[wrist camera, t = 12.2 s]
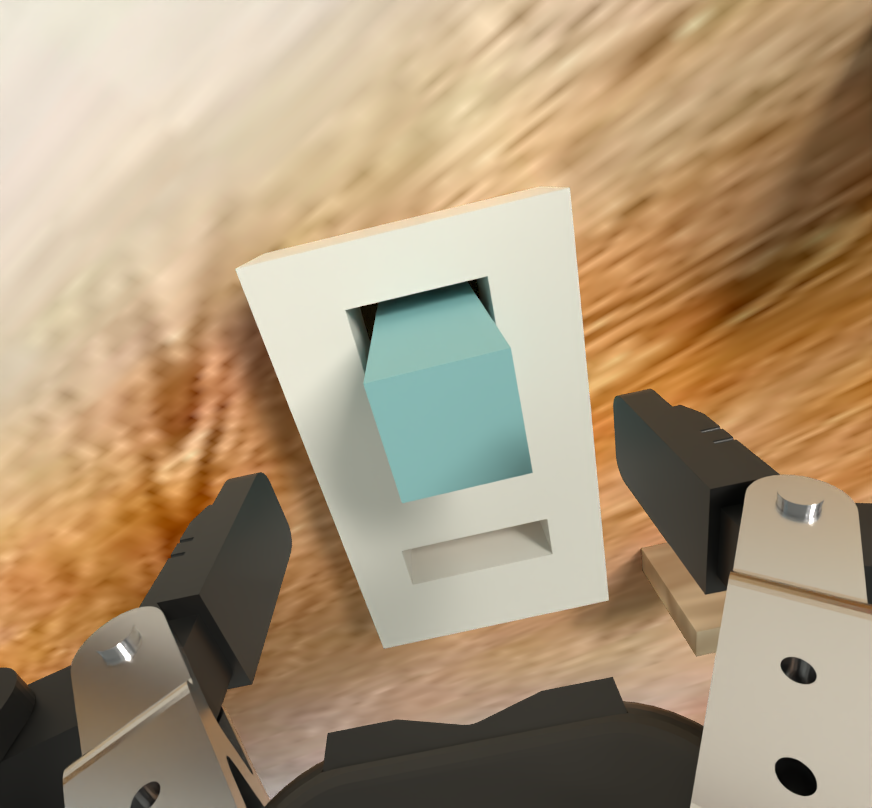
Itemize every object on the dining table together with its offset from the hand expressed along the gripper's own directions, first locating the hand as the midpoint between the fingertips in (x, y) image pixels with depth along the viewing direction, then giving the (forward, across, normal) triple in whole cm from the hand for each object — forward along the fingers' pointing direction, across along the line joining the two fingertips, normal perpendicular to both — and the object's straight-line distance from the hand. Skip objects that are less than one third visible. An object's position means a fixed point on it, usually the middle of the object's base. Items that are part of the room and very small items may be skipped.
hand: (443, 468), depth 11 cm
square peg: (+13, 0, +1) cm, 13 cm away
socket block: (+12, 0, +6) cm, 14 cm away
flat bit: (+12, -12, +18) cm, 25 cm away
